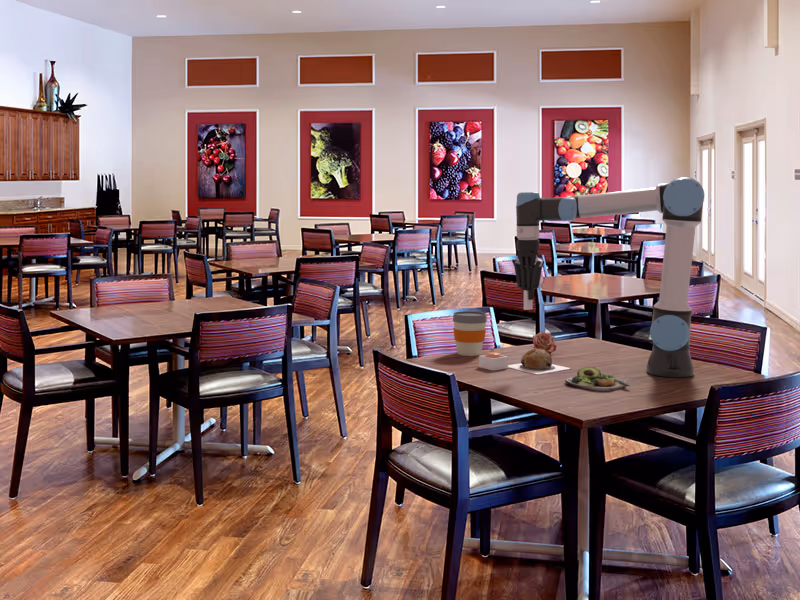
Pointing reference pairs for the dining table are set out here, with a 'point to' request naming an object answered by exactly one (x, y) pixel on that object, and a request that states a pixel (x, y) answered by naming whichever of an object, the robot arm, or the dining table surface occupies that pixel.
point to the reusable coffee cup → (469, 332)
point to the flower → (544, 342)
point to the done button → (493, 355)
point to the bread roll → (536, 359)
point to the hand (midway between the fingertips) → (528, 309)
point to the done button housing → (493, 362)
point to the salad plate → (595, 380)
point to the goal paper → (537, 371)
